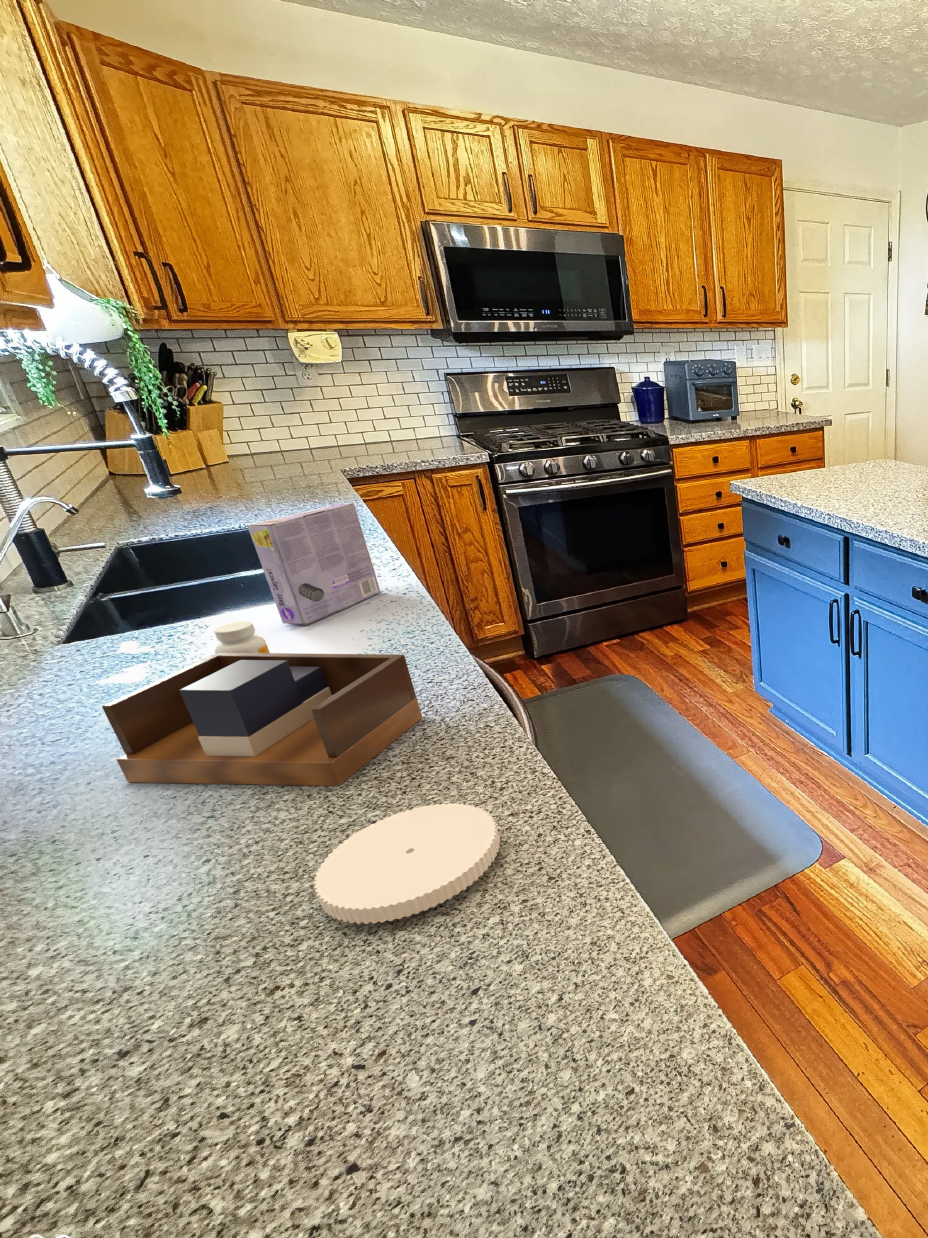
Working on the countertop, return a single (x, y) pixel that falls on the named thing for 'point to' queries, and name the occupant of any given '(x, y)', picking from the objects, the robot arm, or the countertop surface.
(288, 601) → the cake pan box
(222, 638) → the supplement bottle
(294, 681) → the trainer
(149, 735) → the wooden tray
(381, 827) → the plastic lid
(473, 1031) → the countertop surface
